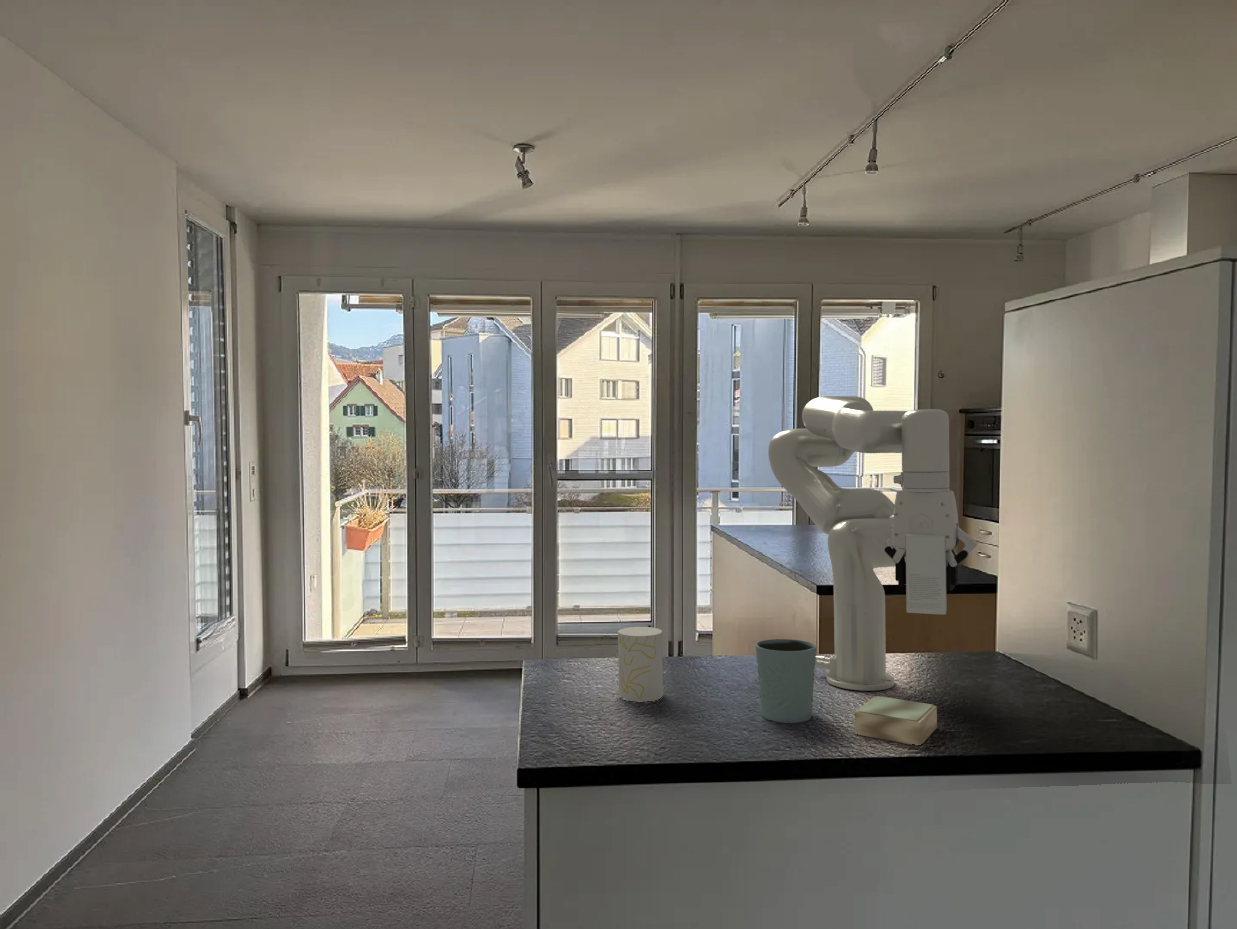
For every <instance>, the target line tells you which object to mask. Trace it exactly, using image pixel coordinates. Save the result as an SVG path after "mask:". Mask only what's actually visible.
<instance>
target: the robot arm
mask: <svg viewBox="0 0 1237 929" xmlns="http://www.w3.org/2000/svg"><path fill="white" fill-rule="evenodd" d="M801 412H802V413H801V419H802V423H803V425H804V427H805V428H790V429H785V430H783V431H780V432H778V433H776V434H775V435H774V436H773V437H772V438H771V440H770V442H769V444H768V460H769V463H770V464H769V465H770V468H771V471H772V473H773V475H774V477H775V479H776V481H777V482H778V483H779V484H780V485H781V487H783V489H784V490H785V491H786V492H787V493H789V494H790V496H792V497H793V498H794V499H795V500H796V501H797V503H799V506H801V508H802V509H803V510H804V512H805V513H806V514H807V516H808V517H809V518H810V519H811V521H812V522H813V524H814V525H815V526H816V527H817V528H818V529H819V531H821V532H822V533H824V534H826V535H828V536H827V546H828V553H829V559H830V565H831V571H832V583H833V618H834V620H833V625H834V626H833V628H834V629H833V630H834V632H833V633H834V634H833V636H834V637H833V638H834V640H833V641H834V646H833V647H834V655H831V657H829V656H826V655H825V656H823V655H816V659H815V666H816V668H821V669H827V670H828V671H829V672H827V674H826V682H827V683H828V684H830V685H832V686H834V687H836V688H841V689H845V690H849V691H850V690H851V691H852V690H853V691H861V692H862V691H863V692H871V691H872V692H875V691H883V690H888V689H890V688H892V687H894V686H895V677H894V676H893V675H891V674H889V673H887V672H886V670H887V666H886V665H887V664H886V663H887V660H886V657H887V656H886V653H887V652H886V647H887V646H886V592H885V589H884V586H883V583H882V582H881V580H880V579H879V577H878V576H877V574H876V573H875V571H874V569H879V568H891V567H892V568H894V567H895V570H894V571H895V574H894V576H895V577H894V578H895V581H896V582H897V586H898V587H900V588H902V587H904V586H905V587H906V540H905V535H906V534H923V535H943V536H945V551H946V562H947V565H946V591H950V592H951V591H953V590H954V589H955V587H956V586H958V584H959V565H960V564H961V563H962V562H963V561H965V559H966V558H968V556H969V555H971V553H972V552H974V550H975V549H976V548H977V547H978V546H979V544H978V541H977V540H976V539H974V538H973V537H971V536H970V535H969V534H968V533H967V532H965V531H964V530H963V529H961V528H960V526H959V515H958V507H957V502H956V498H955V497H956V496H955V492H954V491H953V490H950V418H949V414H948V413H947V412H946V411H945V410H943V409H938V408H937V409H935V408H930V409H929V408H927V409H911V410H874V408H873V406H872V404H871V403H870V402H869V401H868V400H867V399H866V398H863V397H861V396H853V395H852V396H849V395H845V396H843V395H841V396H840V395H838V396H837V395H835V396H834V395H824V396H823V395H822V396H818V397H816V398H813V399H811V400H810V401H808V402H807V403H806V404H805V406H804V407H803V409H802V411H801ZM855 452H856V453H860V454H901V472H900V473H899V474H898V475H894V476H893V479H892V482H893V484H898V485H900V488H901V490H897V491H896V495H895V499H894V502H893V501H892V500H891V499H890V498H889V497H888V496H887V495H886V494H884V493H883V492H881V491H880V490H877V489H874V488H843V487H841V486H839V485H838V484H836V483H835V482H834V480H833V479H832V478H831V477H830V476H829V475H828V474H827V473H825V472H823V471H822V470H820V469H818V468H823V467H824V468H826V467H827V468H828V467H829V468H832V467H838V466H842V465H844V464H845V463H846V462H847V461H848V460H849V459H850V458H851V457H852V456H853V454H854V453H855ZM960 541H961V542H962V543H964V545H965V546H964V547H963V548H962V549H961V550H960V552H958V553H957V552H956V550H955V548H957V547H958V546H959V544H960Z"/></svg>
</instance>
